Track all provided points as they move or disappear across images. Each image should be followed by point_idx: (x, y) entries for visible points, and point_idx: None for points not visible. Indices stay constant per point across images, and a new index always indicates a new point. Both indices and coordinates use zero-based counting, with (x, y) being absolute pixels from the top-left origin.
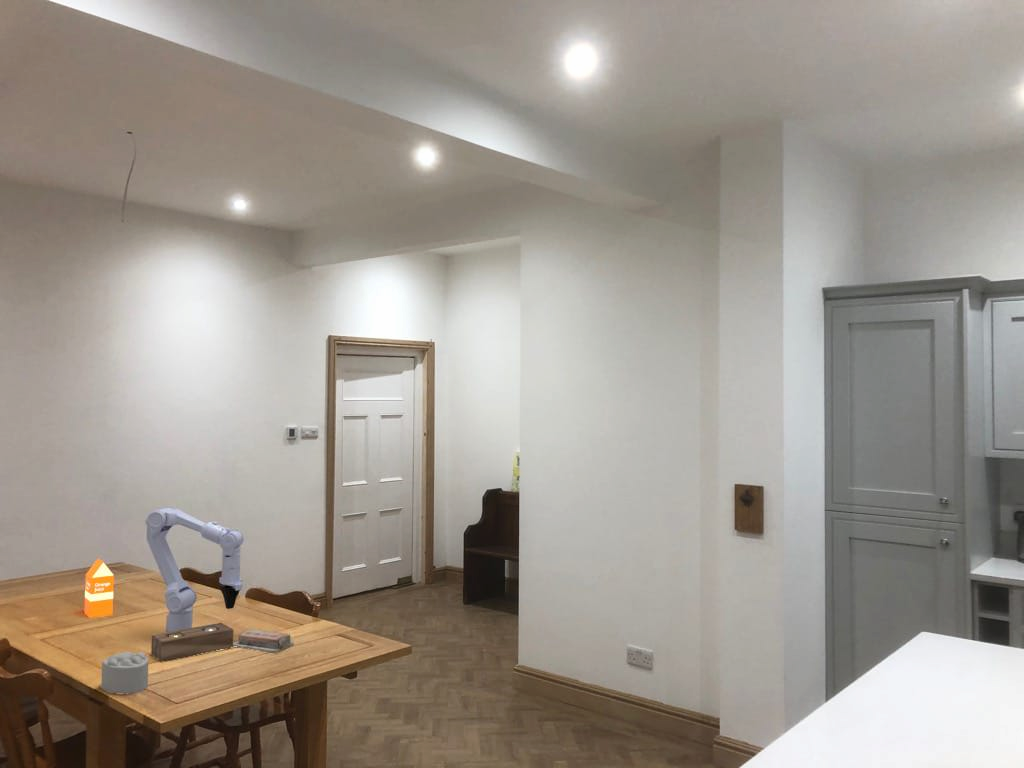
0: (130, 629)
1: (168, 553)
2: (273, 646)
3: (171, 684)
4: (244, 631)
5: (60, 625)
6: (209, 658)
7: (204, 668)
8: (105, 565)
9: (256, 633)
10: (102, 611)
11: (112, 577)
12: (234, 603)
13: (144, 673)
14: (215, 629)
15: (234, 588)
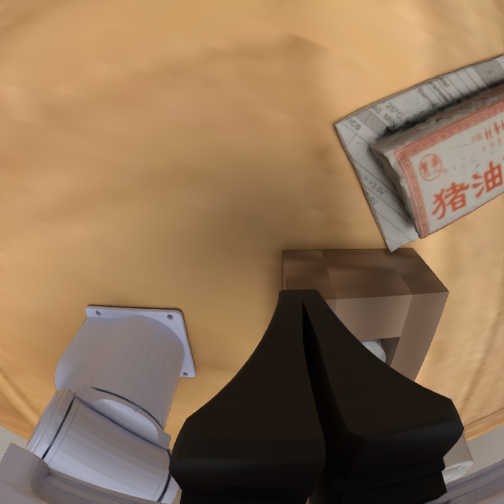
0: (40, 378)
1: None
2: None
3: (482, 403)
4: (422, 206)
5: (14, 414)
6: (437, 336)
7: (479, 356)
8: None
9: (484, 177)
10: None
11: None
12: (330, 310)
13: (468, 449)
14: (383, 351)
15: (475, 479)
